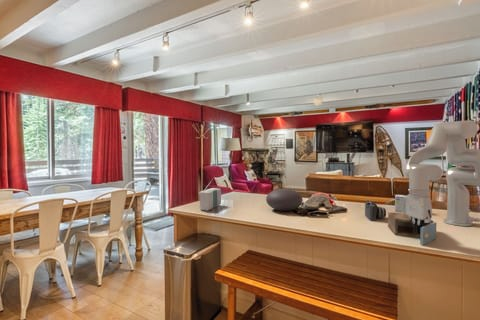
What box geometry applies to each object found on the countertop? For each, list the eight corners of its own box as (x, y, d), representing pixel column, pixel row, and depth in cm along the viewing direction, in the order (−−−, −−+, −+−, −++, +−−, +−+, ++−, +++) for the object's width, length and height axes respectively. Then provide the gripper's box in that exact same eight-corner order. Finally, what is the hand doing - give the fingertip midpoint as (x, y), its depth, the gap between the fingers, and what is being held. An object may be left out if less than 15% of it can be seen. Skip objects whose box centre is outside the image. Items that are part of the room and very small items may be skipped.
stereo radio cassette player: (208, 211, 182) (208, 182, 181) (198, 210, 184) (197, 182, 184) (221, 205, 201) (221, 179, 200) (211, 204, 204) (211, 178, 203)
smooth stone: (276, 205, 201) (276, 185, 200) (308, 209, 186) (308, 188, 186) (259, 211, 181) (259, 189, 180) (293, 216, 166) (293, 193, 166)
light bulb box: (413, 211, 178) (413, 195, 177) (413, 213, 172) (414, 197, 171) (395, 209, 183) (395, 194, 183) (394, 211, 178) (394, 195, 177)
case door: (433, 237, 124) (434, 222, 124) (439, 238, 122) (439, 223, 122) (420, 244, 116) (420, 227, 115) (426, 245, 114) (426, 228, 114)
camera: (389, 222, 153) (389, 205, 152) (369, 221, 155) (369, 204, 155) (381, 216, 167) (381, 200, 166) (363, 215, 169) (363, 199, 168)
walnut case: (422, 229, 138) (422, 214, 138) (433, 238, 125) (433, 221, 125) (387, 227, 143) (388, 212, 143) (395, 235, 129) (395, 218, 129)
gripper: (398, 190, 126) (398, 228, 127) (427, 196, 111) (427, 239, 112) (411, 189, 128) (410, 227, 128) (441, 195, 113) (440, 237, 114)
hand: (418, 232), depth 120 cm, fingers closed
